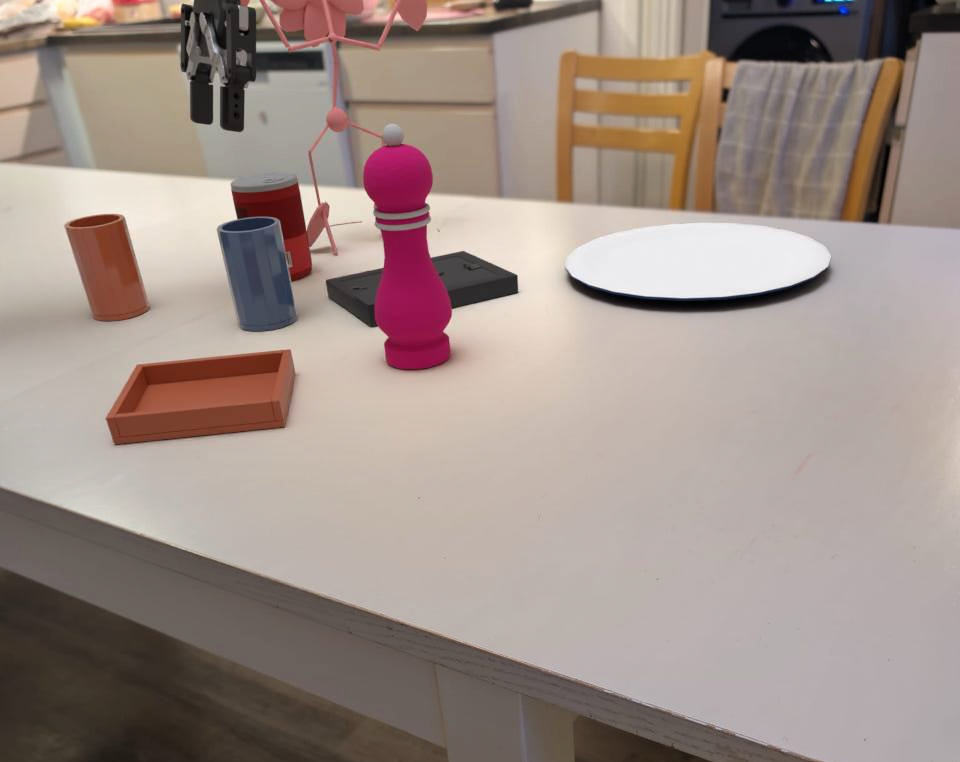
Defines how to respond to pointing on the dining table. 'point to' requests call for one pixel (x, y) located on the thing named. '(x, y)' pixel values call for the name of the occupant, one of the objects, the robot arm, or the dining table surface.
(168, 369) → the tray
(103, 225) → the terracotta cup
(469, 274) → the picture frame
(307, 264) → the canned food
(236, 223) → the blue cup
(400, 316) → the pepper mill
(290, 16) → the figurine
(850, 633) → the dining table surface
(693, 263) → the plate
